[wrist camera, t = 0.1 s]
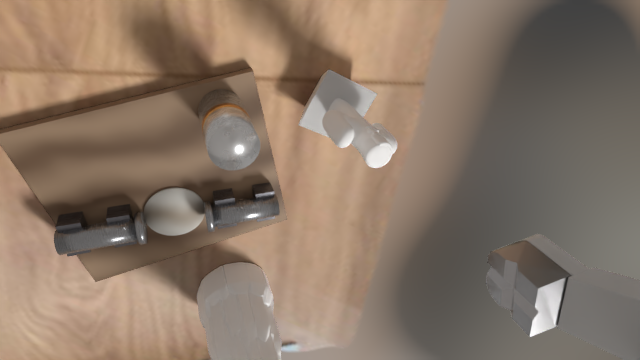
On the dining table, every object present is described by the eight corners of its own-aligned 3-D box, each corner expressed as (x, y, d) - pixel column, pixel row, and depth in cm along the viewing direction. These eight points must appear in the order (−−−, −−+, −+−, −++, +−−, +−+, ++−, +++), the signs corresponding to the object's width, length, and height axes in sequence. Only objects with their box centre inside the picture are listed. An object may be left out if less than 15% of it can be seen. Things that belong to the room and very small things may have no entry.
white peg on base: (342, 134, 55) (395, 197, 43) (282, 109, 50) (323, 172, 38) (371, 86, 52) (435, 139, 40) (310, 55, 47) (364, 105, 36)
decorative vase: (269, 257, 62) (325, 419, 43) (265, 305, 68) (312, 468, 48) (195, 267, 59) (219, 450, 39) (197, 317, 64) (218, 499, 45)
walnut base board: (-3, 130, 41) (-7, 136, 39) (250, 67, 46) (253, 72, 45) (96, 275, 54) (95, 283, 52) (285, 214, 59) (288, 220, 58)
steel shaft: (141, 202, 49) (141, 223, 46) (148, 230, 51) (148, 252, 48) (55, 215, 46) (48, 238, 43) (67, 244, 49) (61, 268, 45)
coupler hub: (192, 95, 44) (200, 132, 37) (237, 83, 45) (254, 117, 38) (205, 135, 47) (215, 176, 40) (248, 124, 48) (265, 162, 41)
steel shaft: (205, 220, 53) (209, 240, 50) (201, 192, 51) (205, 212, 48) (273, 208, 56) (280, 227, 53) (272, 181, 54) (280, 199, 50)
